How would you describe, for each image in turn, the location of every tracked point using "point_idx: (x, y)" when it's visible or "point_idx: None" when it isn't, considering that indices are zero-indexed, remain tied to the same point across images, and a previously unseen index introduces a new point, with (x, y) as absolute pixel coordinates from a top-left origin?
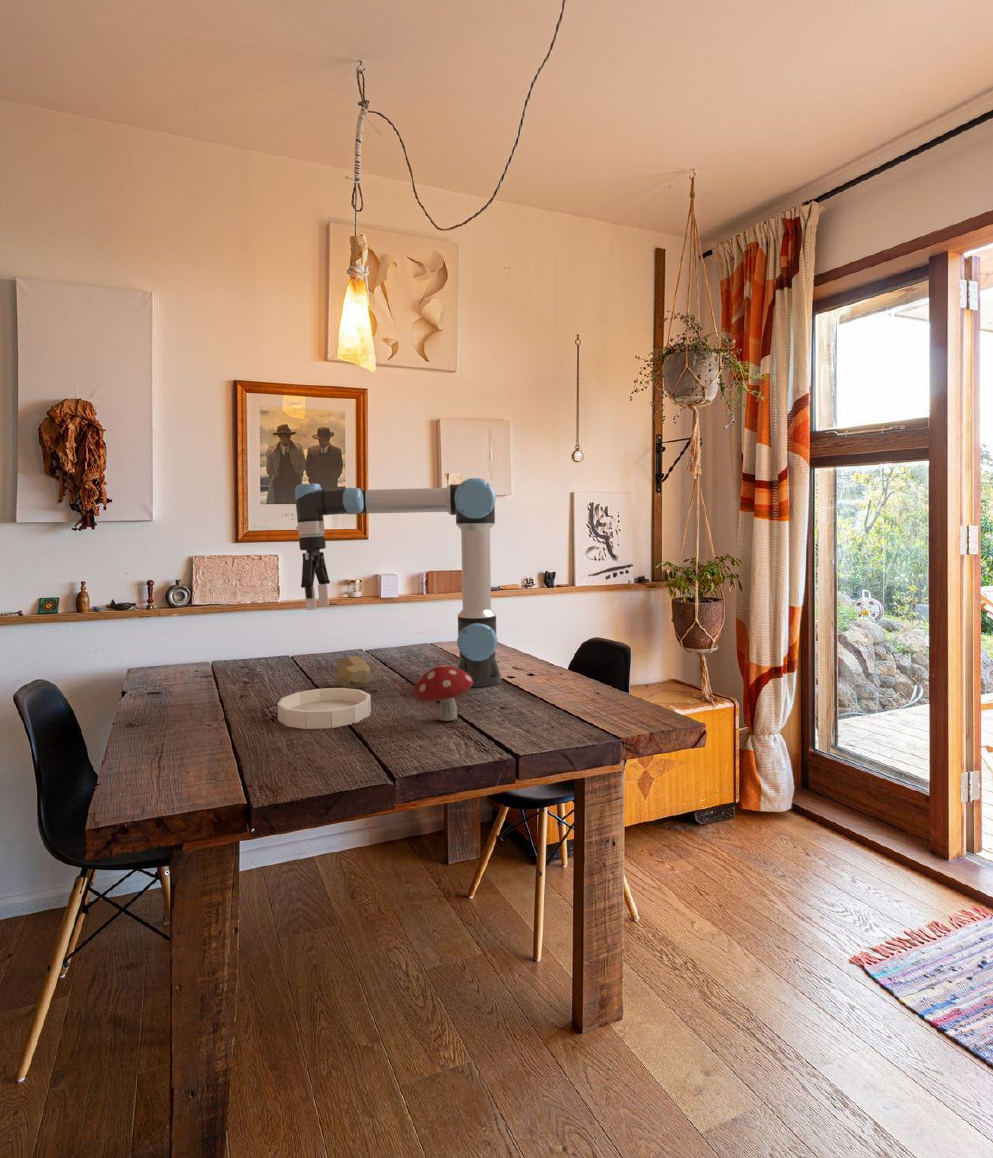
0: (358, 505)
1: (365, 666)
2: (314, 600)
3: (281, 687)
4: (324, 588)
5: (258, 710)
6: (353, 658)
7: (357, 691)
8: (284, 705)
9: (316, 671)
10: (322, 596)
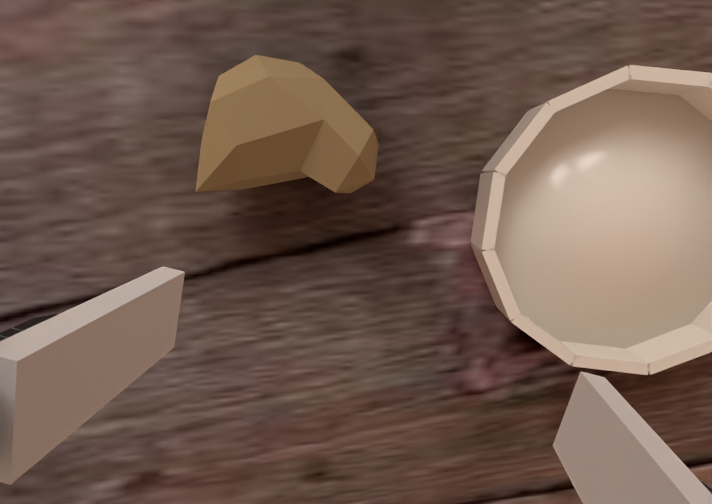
0: None
1: (292, 71)
2: (650, 432)
3: (231, 373)
4: (65, 365)
5: (496, 415)
6: (256, 119)
7: (551, 114)
8: (593, 351)
9: (14, 272)
10: (129, 352)
